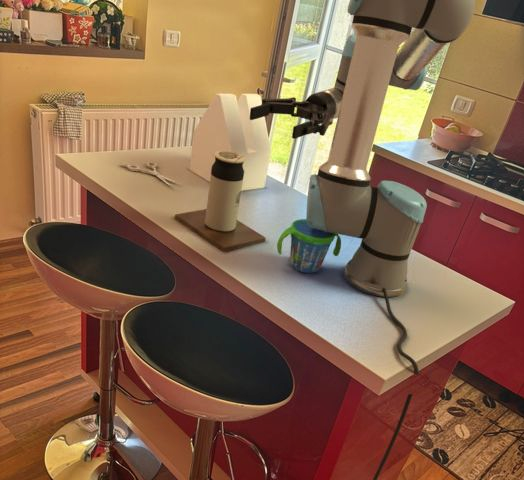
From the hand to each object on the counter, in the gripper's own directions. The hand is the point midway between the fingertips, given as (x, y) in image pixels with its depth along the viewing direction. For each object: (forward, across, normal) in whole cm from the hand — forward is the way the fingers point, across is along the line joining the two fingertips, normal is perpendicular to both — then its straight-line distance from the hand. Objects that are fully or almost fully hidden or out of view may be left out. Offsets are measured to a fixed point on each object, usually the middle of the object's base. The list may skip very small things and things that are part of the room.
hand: (271, 123), depth 131 cm
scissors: (+4, +39, -28) cm, 48 cm away
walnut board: (+13, +3, -26) cm, 29 cm away
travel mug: (+13, +3, -24) cm, 28 cm away
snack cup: (+9, -22, -26) cm, 35 cm away
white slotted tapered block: (-17, +28, -30) cm, 45 cm away
